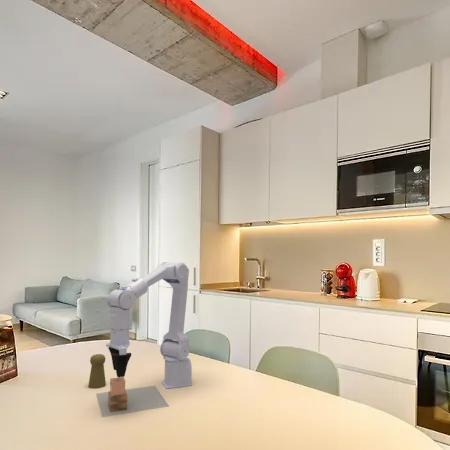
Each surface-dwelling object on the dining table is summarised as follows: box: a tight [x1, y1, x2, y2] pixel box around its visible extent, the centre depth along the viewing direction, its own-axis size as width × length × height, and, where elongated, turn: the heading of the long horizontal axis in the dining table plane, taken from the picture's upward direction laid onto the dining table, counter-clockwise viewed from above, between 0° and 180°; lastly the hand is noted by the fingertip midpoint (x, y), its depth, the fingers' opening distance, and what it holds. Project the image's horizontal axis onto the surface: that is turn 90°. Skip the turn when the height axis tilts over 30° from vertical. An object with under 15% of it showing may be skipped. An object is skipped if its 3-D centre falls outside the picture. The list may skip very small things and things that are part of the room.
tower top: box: [107, 390, 127, 405], centre depth 118 cm, size 5×5×2 cm
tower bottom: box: [108, 400, 127, 412], centre depth 118 cm, size 5×5×2 cm
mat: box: [95, 385, 170, 418], centre depth 124 cm, size 20×20×1 cm
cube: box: [109, 376, 126, 396], centre depth 118 cm, size 4×4×4 cm
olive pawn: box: [88, 353, 107, 390], centre depth 137 cm, size 6×6×11 cm
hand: (119, 373), depth 119 cm, fingers open, 7 cm apart
